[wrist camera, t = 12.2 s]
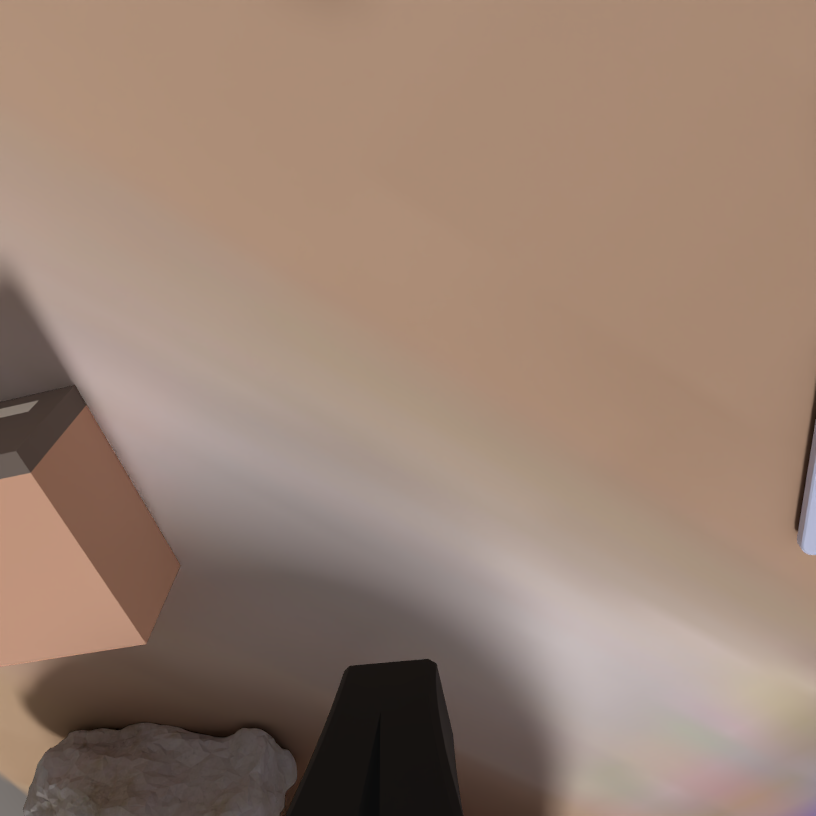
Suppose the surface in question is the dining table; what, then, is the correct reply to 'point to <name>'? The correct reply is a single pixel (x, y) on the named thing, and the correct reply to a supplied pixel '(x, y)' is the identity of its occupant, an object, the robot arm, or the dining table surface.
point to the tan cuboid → (72, 537)
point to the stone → (161, 774)
